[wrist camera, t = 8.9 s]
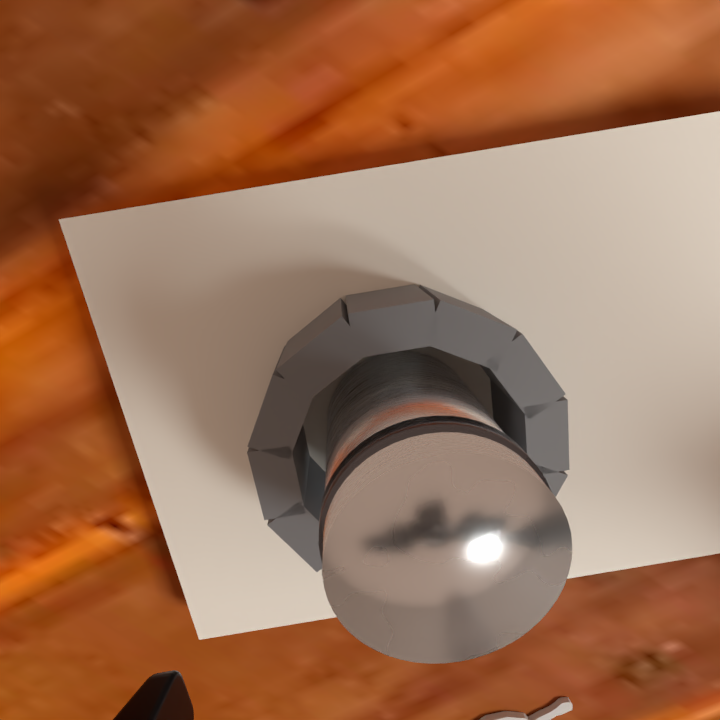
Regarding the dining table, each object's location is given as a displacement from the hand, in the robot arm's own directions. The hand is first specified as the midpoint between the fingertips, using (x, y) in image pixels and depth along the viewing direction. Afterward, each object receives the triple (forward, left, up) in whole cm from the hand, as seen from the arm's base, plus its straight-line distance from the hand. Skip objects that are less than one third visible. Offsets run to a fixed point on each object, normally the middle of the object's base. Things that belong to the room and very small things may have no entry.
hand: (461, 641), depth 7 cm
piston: (0, 0, -9) cm, 9 cm away
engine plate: (-2, 0, -10) cm, 11 cm away
